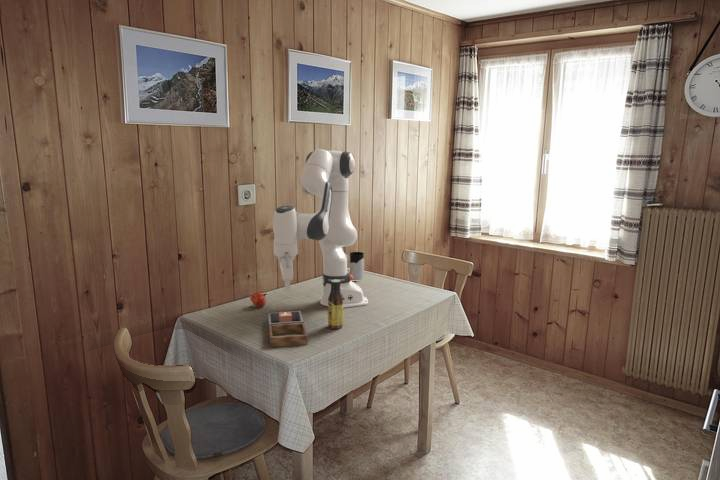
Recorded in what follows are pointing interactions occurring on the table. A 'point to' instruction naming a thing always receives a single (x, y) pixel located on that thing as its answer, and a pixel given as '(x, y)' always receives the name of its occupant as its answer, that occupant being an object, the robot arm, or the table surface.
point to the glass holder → (356, 265)
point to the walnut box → (288, 339)
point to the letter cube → (285, 317)
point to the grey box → (275, 317)
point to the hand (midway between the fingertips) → (286, 285)
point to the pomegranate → (258, 299)
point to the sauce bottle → (335, 306)
